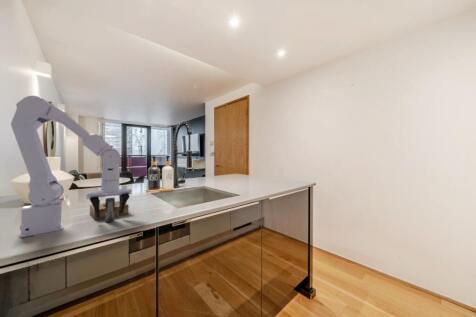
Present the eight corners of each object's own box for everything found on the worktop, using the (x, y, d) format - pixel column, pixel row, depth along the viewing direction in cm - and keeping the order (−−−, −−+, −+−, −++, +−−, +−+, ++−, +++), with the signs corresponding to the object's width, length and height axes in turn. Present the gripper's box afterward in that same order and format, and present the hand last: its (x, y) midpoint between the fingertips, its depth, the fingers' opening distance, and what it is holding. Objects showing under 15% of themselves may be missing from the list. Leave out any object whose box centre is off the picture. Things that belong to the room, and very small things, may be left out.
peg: (105, 223, 70) (106, 199, 70) (103, 221, 72) (104, 198, 72) (115, 221, 72) (115, 198, 72) (113, 219, 74) (113, 197, 74)
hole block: (94, 220, 72) (94, 210, 72) (89, 214, 79) (89, 205, 79) (128, 214, 81) (128, 205, 81) (121, 209, 88) (121, 200, 88)
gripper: (88, 182, 64) (87, 221, 64) (134, 179, 74) (133, 213, 74) (85, 180, 68) (84, 216, 69) (128, 177, 79) (128, 209, 79)
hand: (109, 214), depth 72 cm, fingers open, 7 cm apart
